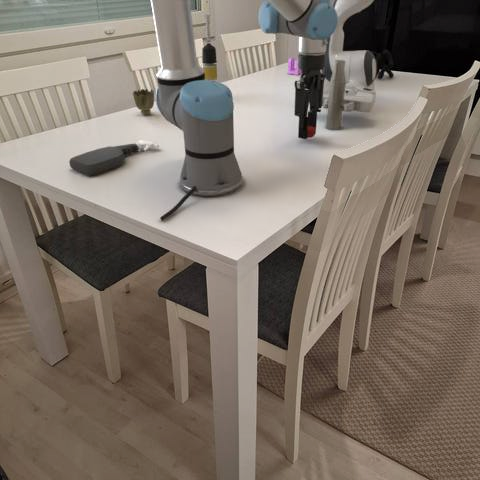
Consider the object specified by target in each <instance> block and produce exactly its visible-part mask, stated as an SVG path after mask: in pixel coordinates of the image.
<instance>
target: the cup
mask: <svg viewBox="0 0 480 480" xmlns="http://www.w3.org/2000/svg"><path fill="white" fill-rule="evenodd" d="M132 96H133V100H134V105H135V107H136V108H137V109H138V110H140V113H141V115H143V116H148V115H150V114H151V112H152V109H153V108H154V105H155V90H153V89H150V90H149V89H147V88H146V89H144V88H142V89H141V90H140V89H137V90H134V91H133V92H132Z"/></svg>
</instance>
